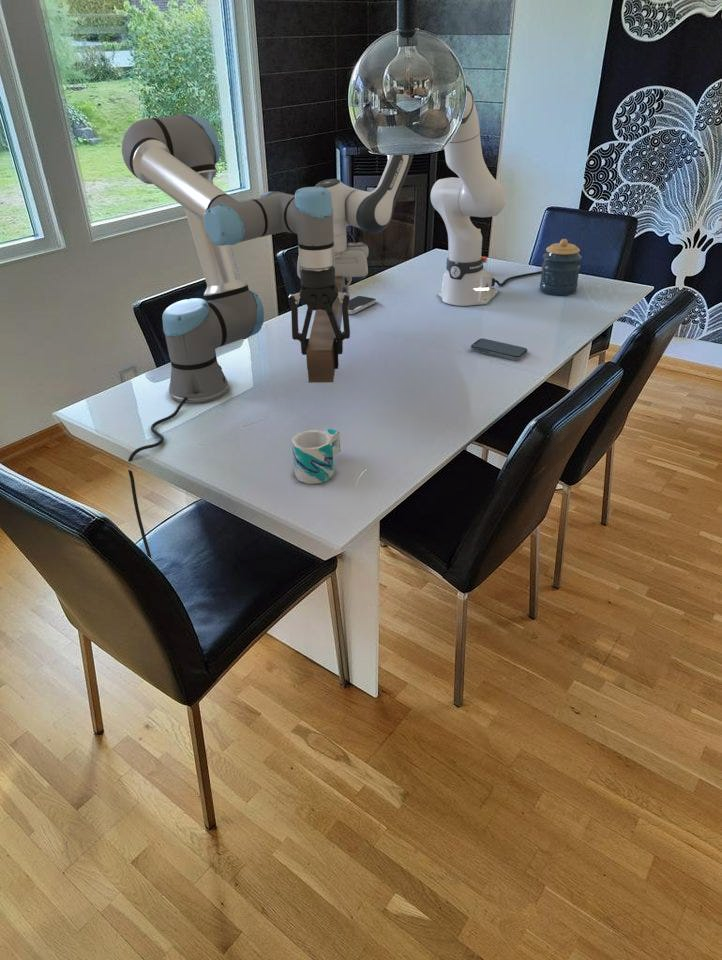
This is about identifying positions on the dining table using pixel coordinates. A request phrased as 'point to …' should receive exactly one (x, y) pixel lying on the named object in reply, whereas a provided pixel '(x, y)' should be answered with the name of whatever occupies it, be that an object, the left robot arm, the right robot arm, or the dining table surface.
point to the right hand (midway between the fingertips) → (334, 292)
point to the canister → (560, 269)
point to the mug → (315, 455)
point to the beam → (323, 342)
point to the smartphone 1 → (359, 303)
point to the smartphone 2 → (499, 349)
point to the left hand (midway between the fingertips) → (323, 366)
